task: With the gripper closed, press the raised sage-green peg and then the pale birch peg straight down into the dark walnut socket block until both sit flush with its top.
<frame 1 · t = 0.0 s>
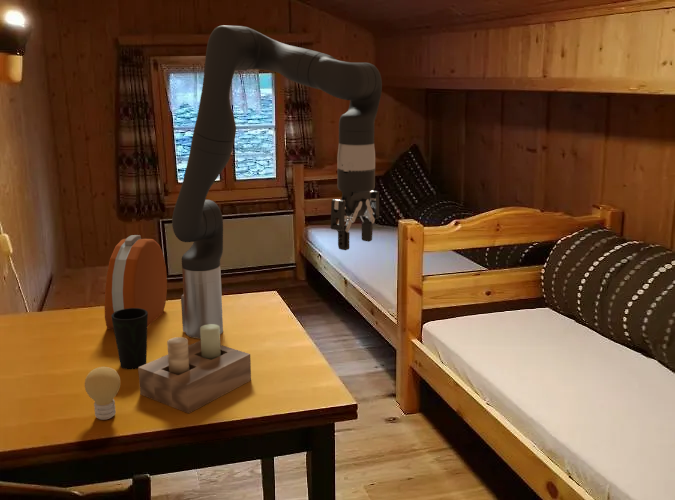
hand: (355, 245, 145), 29 cm above the table, fingers open, 8 cm apart
peg birch: (178, 356, 142), point 8 cm above the table, slide at 5.0 cm
light bulb: (105, 417, 135), on the table
socket block: (196, 387, 147), on the table
peg sage: (210, 342, 149), point 8 cm above the table, slide at 5.0 cm
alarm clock: (136, 320, 186), on the table
cup: (133, 365, 158), on the table
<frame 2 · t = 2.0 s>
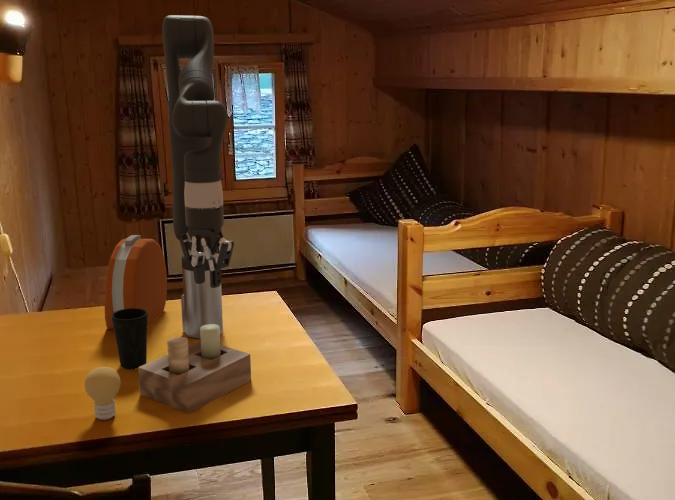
hand: (207, 284, 145), 21 cm above the table, fingers open, 3 cm apart
nothing on the table moved.
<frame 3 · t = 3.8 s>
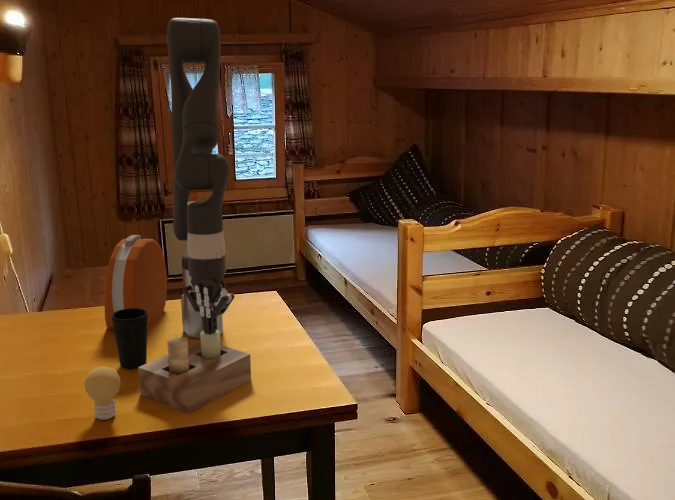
hand: (210, 332, 148), 11 cm above the table, fingers closed
peg sage: (210, 347, 149), point 7 cm above the table, slide at 3.9 cm, touching gripper
everything else where it was.
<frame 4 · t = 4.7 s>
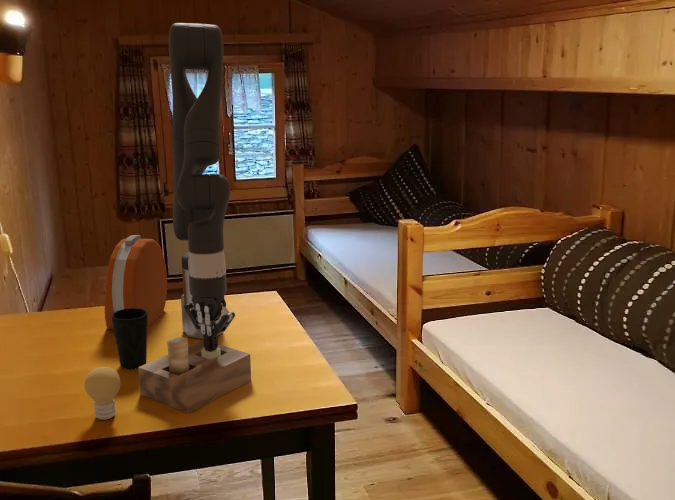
hand: (211, 350, 149), 7 cm above the table, fingers closed
peg sage: (211, 364, 150), point 3 cm above the table, slide at 0.0 cm, touching gripper
everything else where it was.
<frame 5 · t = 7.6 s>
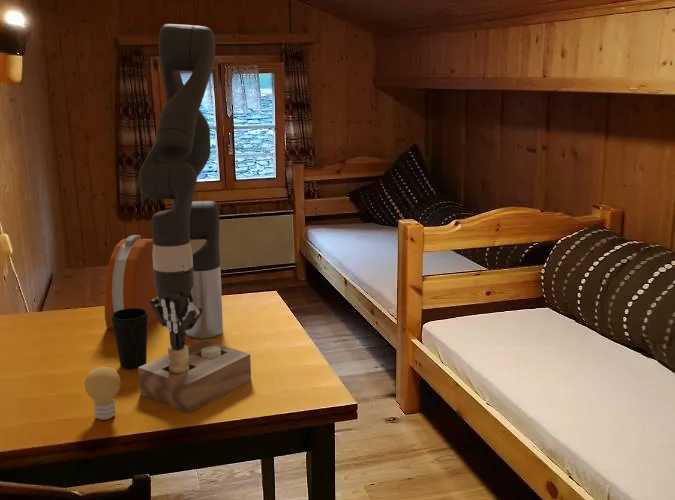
hand: (178, 348, 141), 10 cm above the table, fingers closed
peg birch: (178, 364, 142), point 7 cm above the table, slide at 3.4 cm, touching gripper
peg sage: (211, 364, 150), point 3 cm above the table, slide at 0.0 cm
everything else where it was.
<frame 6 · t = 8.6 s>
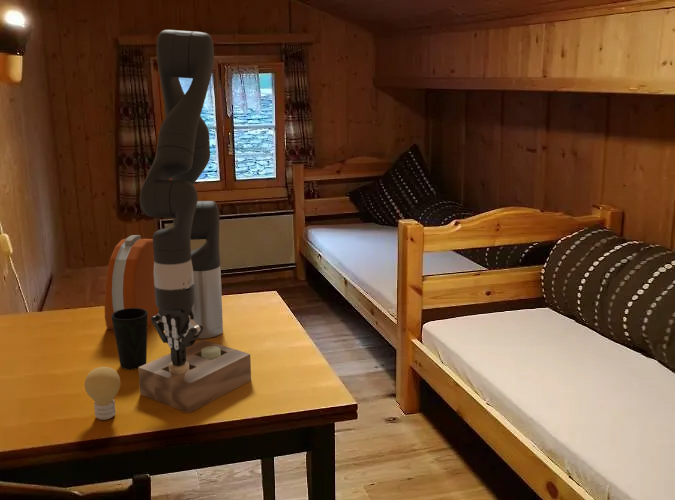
hand: (179, 364, 142), 7 cm above the table, fingers closed
peg birch: (179, 379, 143), point 3 cm above the table, slide at 0.0 cm, touching gripper
everything else where it was.
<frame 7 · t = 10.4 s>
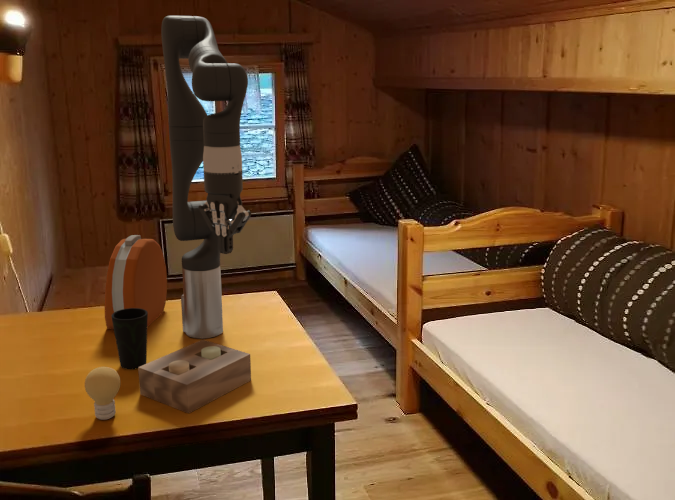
hand: (225, 252, 144), 28 cm above the table, fingers closed
peg birch: (179, 379, 143), point 3 cm above the table, slide at 0.0 cm
everything else where it was.
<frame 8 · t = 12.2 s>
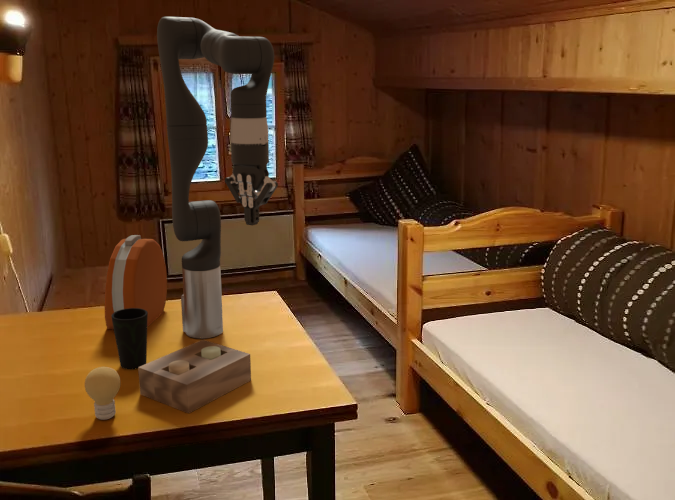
hand: (252, 224, 146), 33 cm above the table, fingers closed
nothing on the table moved.
at the end: peg sage slide at 0.0 cm; peg birch slide at 0.0 cm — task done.
